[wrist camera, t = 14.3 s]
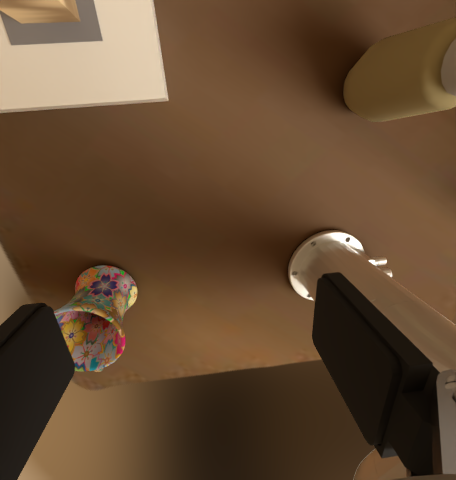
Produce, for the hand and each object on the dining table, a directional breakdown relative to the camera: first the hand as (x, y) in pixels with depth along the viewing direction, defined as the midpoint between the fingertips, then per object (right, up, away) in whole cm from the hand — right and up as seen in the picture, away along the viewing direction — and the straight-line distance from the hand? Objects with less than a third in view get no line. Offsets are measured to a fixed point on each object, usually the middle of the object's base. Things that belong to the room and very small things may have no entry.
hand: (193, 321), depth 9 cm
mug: (-17, -5, +29) cm, 34 cm away
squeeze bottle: (+18, +22, +22) cm, 36 cm away
